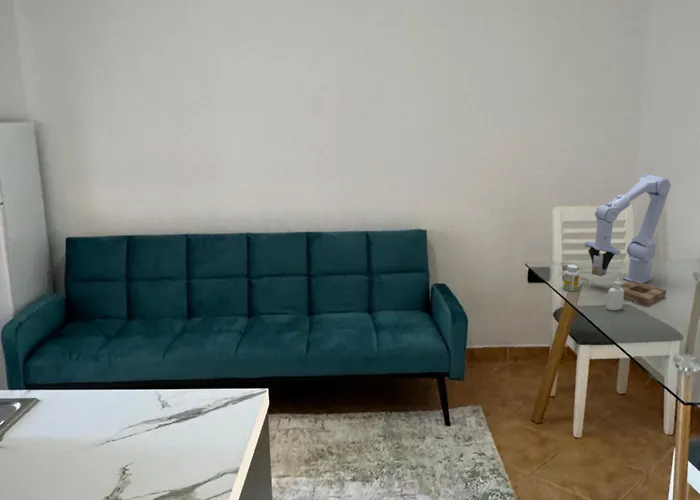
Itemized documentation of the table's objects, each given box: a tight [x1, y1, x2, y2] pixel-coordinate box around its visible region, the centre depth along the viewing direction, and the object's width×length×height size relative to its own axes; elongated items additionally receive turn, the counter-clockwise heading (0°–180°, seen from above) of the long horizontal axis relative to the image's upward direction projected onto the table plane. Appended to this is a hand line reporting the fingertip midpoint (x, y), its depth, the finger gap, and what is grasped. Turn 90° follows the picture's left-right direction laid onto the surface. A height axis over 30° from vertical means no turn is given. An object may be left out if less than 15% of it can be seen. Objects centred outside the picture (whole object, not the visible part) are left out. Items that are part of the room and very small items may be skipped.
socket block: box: [620, 281, 667, 308], centre depth 252 cm, size 14×14×3 cm
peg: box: [591, 252, 608, 277], centre depth 259 cm, size 4×4×8 cm
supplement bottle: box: [563, 264, 580, 292], centre depth 260 cm, size 5×5×10 cm
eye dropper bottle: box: [605, 278, 624, 311], centre depth 240 cm, size 4×6×12 cm
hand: (599, 267), depth 260 cm, fingers closed on peg, 4 cm apart
